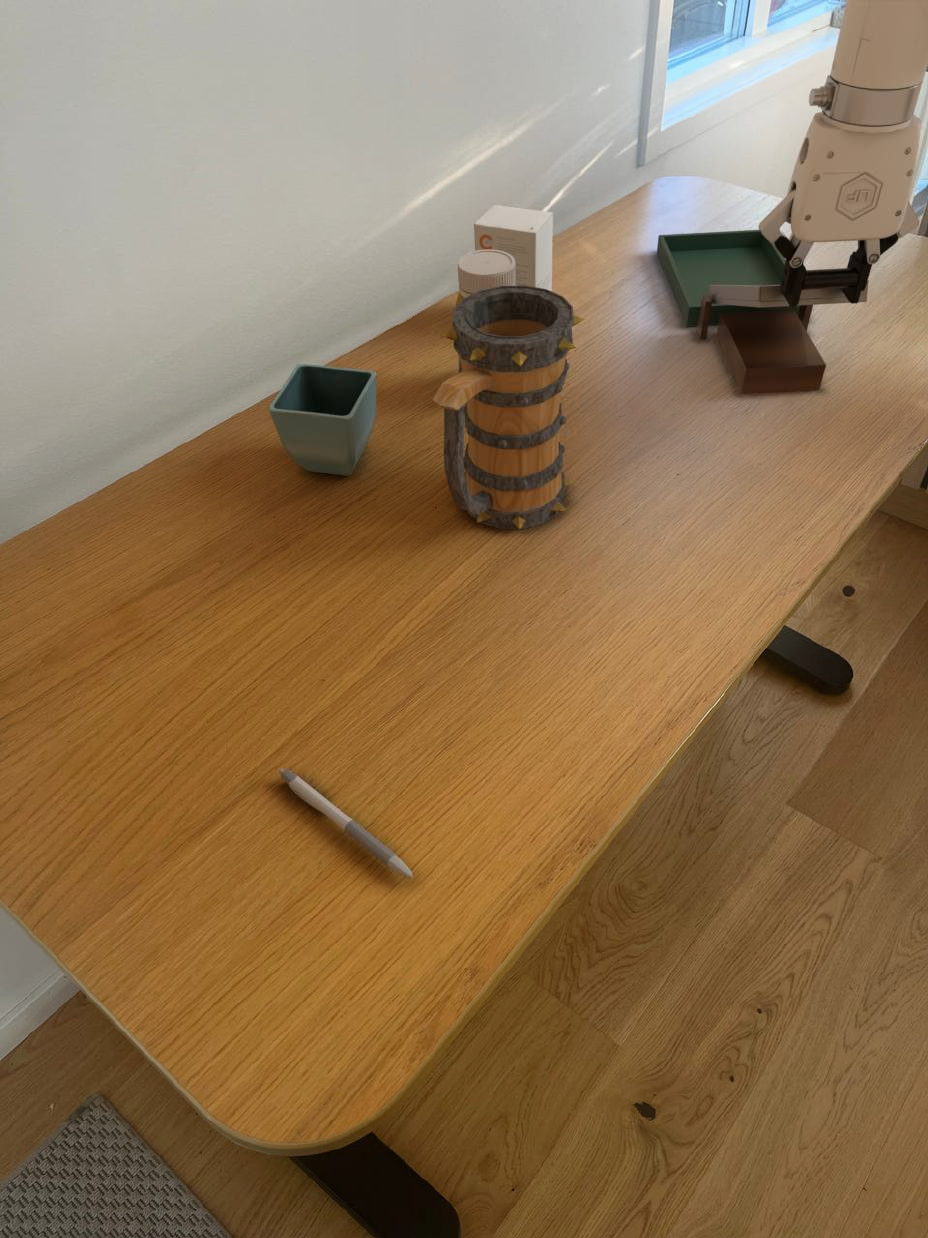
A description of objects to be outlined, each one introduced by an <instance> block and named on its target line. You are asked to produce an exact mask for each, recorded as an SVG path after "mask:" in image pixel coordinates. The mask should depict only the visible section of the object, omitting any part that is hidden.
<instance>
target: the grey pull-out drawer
mask: <svg viewBox="0 0 928 1238" xmlns="http://www.w3.org/2000/svg"><path fill="white" fill-rule="evenodd" d="M857 279H858V271H857V269H856V268H847V267H842V268H841V267H840V268H824V269H823V268H822V269H821V268H820V269H806V274H805V279H804V283H803V287H802V291H801V295H800V299H799V303H798V305H796V306H800V305H813V306H815V305H816V306H817V305H818V306H819V305H834V304H835V305H837V304H851V302H849V301H848V299H847V298H846V296H845V295H844V293H843V292H842V288H846V287H854V286H855V285H856V283H857ZM869 283H870V281H869V280H868V281H867V285H866V288H865V290H864V291H861V294H860V298H859V301H858V303H867V301H868V291H869ZM709 296H710V298H711V300H712V304H724V305H735V306H747V307H759V308H763V307H781V306H789V304H788V302H787V300H786V299H785V297H784V295H782V294H781V292H780V285H767V286H753V285H710V286H709Z"/></svg>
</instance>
